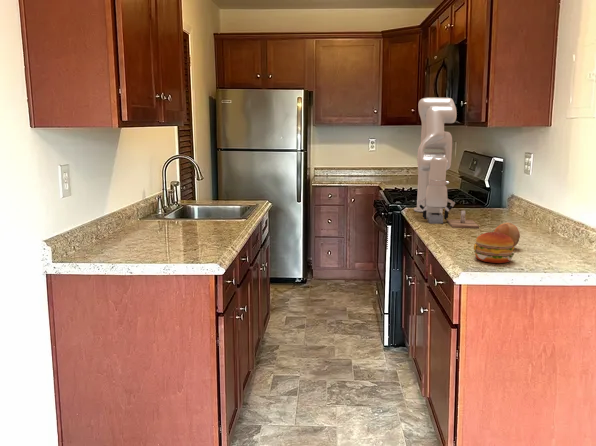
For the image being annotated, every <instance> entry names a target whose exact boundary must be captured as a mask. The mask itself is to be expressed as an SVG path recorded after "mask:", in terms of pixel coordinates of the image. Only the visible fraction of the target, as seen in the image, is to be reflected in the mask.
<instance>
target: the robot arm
mask: <svg viewBox="0 0 596 446" xmlns="http://www.w3.org/2000/svg"><path fill="white" fill-rule="evenodd" d="M417 106H418V114H419V117H420V121H421V133H420V135H421V136H420V144H419V146H418V148H417V157H416V162H417V171H418V172H417V174H418V175H417V176H418V177H417V196H416V207H414V208H413V211H414V212H418V213H422V217H423V219H424V220H427V218H426V209H427V208H428V207H440V208H443V209H444V214H443V220H445V221H447V219H448V218H449V212H450V210H452V209H453V207H454V206H455V204H456V202H455V201H453V200H452V199H449V198H448V188H447V187H448V186H447V185H449V183H450V182H449V181H448V180H446V178H447V177H446V176H447V170H449V169H450V168H451V165H452V153H453V136H452V134H451V132H450V131H445V124H454V123H455V122H456V120H457V118H458V117H457V115H458V114H457V113H458V112H457V107H456V104H455V102H454V100H453V98H451V97H423V98H421V99H419V101H418V105H417ZM424 150H439V151H424ZM440 151H441V152H440ZM448 203H449V204H450V205H448Z"/></svg>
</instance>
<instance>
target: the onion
mask: <svg viewBox="0 0 596 446" xmlns="http://www.w3.org/2000/svg"><path fill="white" fill-rule="evenodd" d="M493 232H499V233H503V234H505V235H507V236H509V237H510V238H511V239H512V240H513V242H514V245H513V246H514V247H516V246H517V245H518V243H519V242H520V239H521V238H520V237H521V234H520V230H519V229H518V227H517V226H516V225H515V224H514V223H511V222H503V223H501V224H499V225H498V226H497V227H496V228H495V229H494V231H493Z"/></svg>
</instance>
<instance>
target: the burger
mask: <svg viewBox="0 0 596 446" xmlns="http://www.w3.org/2000/svg"><path fill="white" fill-rule="evenodd" d="M513 245H514V242H513V240H512V239H511V238H510V237H509V236H507V235H505V234H503V233H499V232H494V231H491V232H484V233H481V234H480V235H478V236H477V237H476V239H475V244H473V250H474V252H473V253H474V255H475V258H476V259H477V260H479V261H482V262H483V263H484V262H485V263H491V264H505V263H510V262H511V261H512V259H513V257H514V255H515V253H514V251H515V246H513Z"/></svg>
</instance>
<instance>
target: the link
mask: <svg viewBox="0 0 596 446" xmlns="http://www.w3.org/2000/svg"><path fill="white" fill-rule="evenodd" d="M426 220H427V223H428V224H434V225H435V224H436V225H441V224H442V225H443V224H444V214H443V212H442V213H431V212H428V218H426Z"/></svg>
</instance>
